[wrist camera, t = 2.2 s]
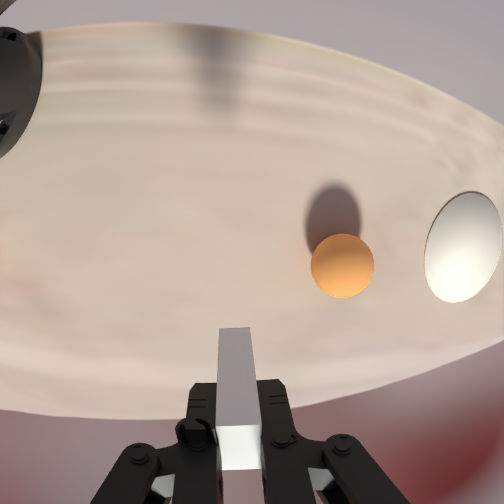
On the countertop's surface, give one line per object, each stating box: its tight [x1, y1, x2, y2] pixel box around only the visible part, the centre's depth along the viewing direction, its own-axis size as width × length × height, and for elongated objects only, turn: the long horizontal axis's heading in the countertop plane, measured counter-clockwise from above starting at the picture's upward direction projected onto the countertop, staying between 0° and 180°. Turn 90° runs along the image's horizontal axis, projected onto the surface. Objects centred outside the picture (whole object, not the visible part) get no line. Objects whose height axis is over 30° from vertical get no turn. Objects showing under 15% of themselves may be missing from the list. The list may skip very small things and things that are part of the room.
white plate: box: [424, 193, 503, 303], centre depth 30 cm, size 13×13×1 cm
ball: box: [311, 233, 374, 298], centre depth 27 cm, size 6×6×6 cm
